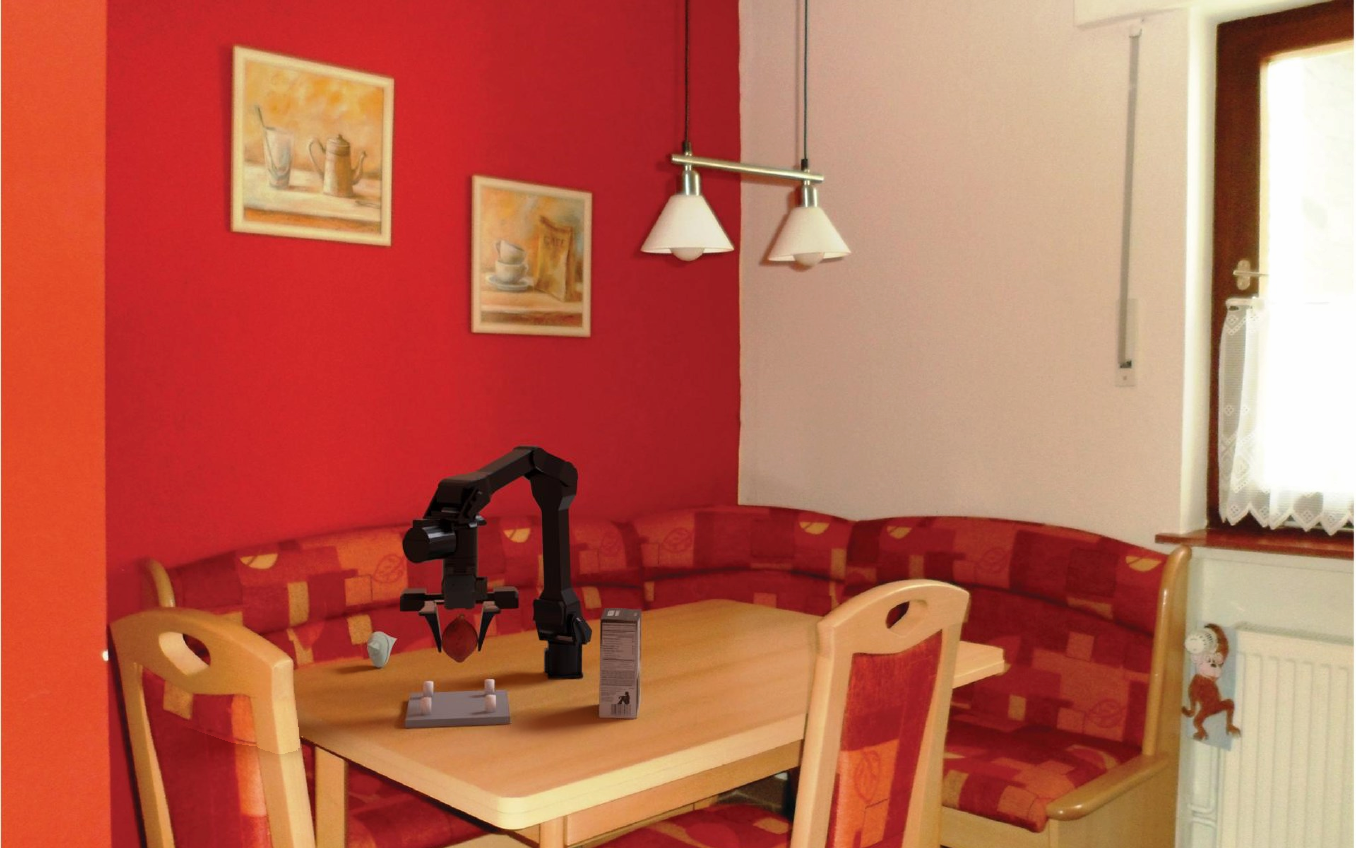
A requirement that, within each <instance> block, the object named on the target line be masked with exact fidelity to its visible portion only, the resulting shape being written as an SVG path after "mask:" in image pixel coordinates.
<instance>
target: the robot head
mask: <svg viewBox="0 0 1356 848" xmlns="http://www.w3.org/2000/svg"><path fill="white" fill-rule="evenodd" d="M396 641H397V638H395V637H392V636H390V635H388V634H386V633H384V632H383V631H375V632H373V633H371V635H370V636H369V637H368V638H367V643H366V650H367V652H368V656H369V659H370V661H371V663H372V664H373V665H374V666H375V667H376V668H380V667H381V668H382V667H384V666H385V665H386V664H387V663H388V661H389V658H390V655H391V652H392V648H393V646H394V643H395V642H396Z"/></svg>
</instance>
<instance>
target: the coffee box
mask: <svg viewBox="0 0 1356 848" xmlns="http://www.w3.org/2000/svg"><path fill="white" fill-rule="evenodd" d="M599 628H600V629H599V630H600V631H599V633H600V634H599V685H598V687H599V689H598V692H599V693H598V694H599V695H598V697H599V698H598V700H599V701H598V718H599V719H600V718H601V719H602V718H603V719H632V720H633V719H635V720H636V719H637V718H638V716H639V711H640V707H641V703H642V702H641V699H642V697H641V695H642V694H641V693H642V692H641V687H642V685H641V684H642V681H641V680H642V679H641V677H642V675H641V674H642V673H641V672H642V668H641V667H642V609H640V608H639V609H636V608H635V609H634V608H633V609H630V608H622V607H606V608H604V609H603V612H602V614H601V617H600V625H599Z"/></svg>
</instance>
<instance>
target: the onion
mask: <svg viewBox="0 0 1356 848" xmlns="http://www.w3.org/2000/svg"><path fill="white" fill-rule="evenodd" d="M465 616H466V615H465V614H464V613H463V612H461V613H459V614H458V615H456V617H455V618H454V619H453V620H452V621H450V622H449V623H448V625H447V626H446V627H445V628H444V630H443V632H442V634H441V643H442V650H443V652H444V653H445V654H446V656H447V657H449V658H450V659H452V660H454V661H455V662H456V663H460V664H461V663H464V662H465V660H466V659H467V658H468V657H469V656H471V655H472V654H473V653H474V652H475V651H476V649H477V648H478V636H479V634H478V632H477V630H476V629H475V627H474V625H473V624H472V623H470V622H469V621H468V620H467V619H465Z"/></svg>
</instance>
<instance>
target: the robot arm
mask: <svg viewBox="0 0 1356 848" xmlns="http://www.w3.org/2000/svg"><path fill="white" fill-rule="evenodd" d="M577 469H578V468H577V467H576V466H575V465H574V464H573V463H572V462H570V461H566V460H565V459H563V458H561V457H558V456H557V455H554V454H551V453H549V452H548V451H546V450H545V449H544V448H543V447H540V446H539V445H528V444H527V445H524V444H520V445H517V446H514V447H513V449H512V450H511V451H509V452H508V453H505V454H504V455H502V456H500V457H498V458H497V459H494V460H493V461H491V462H490V463H488V464H486V465H484V466H483V467H480V468H478V469H477V470H475V471H472V472H468V473H460V474H456V475H452V476H448V477H445V478H443V479H441V480H440V481H439V482H438V483H437V488H436V490H435V492H434V494H433V496H432V498H431V501H430V502H429V504H428V506H427V507H426V511H425V512H424V514H423V517H422V518H413V519H412V527H410V528H409V529H408V530H407V531H406V532H405V534H404V537H403V539H402V546H401V547H402V551H403V554H404V555H405V557H406V559H407V560H408V561H410V563H413V564H416V565H418V564H422V563H429V562H433V561H434V562H435V561H440V560H441V584H440V585H441V588H440V590H441V591H440V592H438V593H434V592H432V593H431V592H430V593H427V587H426V588H425V587H423V588H420V587H418V588H416V587H415V588H414V587H413V588H404V589H403V590H402V591H401V593H400V596H399V612H404V613H405V612H407V613H409V612H417V616H418V617H424V619H426V622H427V623H428V624H427V625H429V627H430V629H431V632H432V635H433V639H434V641H435V645H436V648H437V651H438V653H439V654H441V653H442V650H443V648H442V643H441V640H442V634H441V625H440V617H439V608H438V606H441V605H442V606H443V608H444V609H445V610H448V611H454V610H455V609H457V610H458V609H465V610H473V609H475V607H476V605H481V604H482V608H481V614H480V623H479V629H478V630H479V631H478V644H477V652H481V650H482V647H483V644H484V641H485V638H486V634H487V632H488V628H489V627H490V625H491V623H492V620H493V619H494V618H495V616H496V615H500V614H502V610H516V609H519V608H520V607H519V605H520V603H519V601H520V600H519V599H520V597H519V596H520V595H519V591H518V589H517V588H516V587H515V586H512V585H511V586H509V585H508V586H493V591H488V576H479V527H485V526H487V524H488V522H487V520H486V519H485V518H484V517H482V516H481V515H480V514H479V513H481V511H483V510H484V509H485V508H486V507H487V506H488V505H489V504H490V503H491V500H492V497H493V495H494V494H495V493H497V492H498V491H500V490H501V489H504V488H505V487H507V486H509V484H512V483H513V482H514V481H517V480H518V479H520V478H524V479H525V480H526V481H528V482H529V483H530V491H531V496H532V498H533V499H534V502H536V504H537V506H538V508H539V509H540V513H541V514H540V515H541V516H540V519H541V538H542V539H541V540H542V541H541V546H542V549H541V550H542V571H543V573H542V574H543V578H542V579H543V588H542V590H541V593H540V595H539V596H538V598H533V601H532V609H533V616H532V621H533V622H534V624H535V627H536V628H535V629H536V632H537V636H538V640H539V642H540V641H541V642H546V647H545V648H544V649H543V671H544V674H546V675H547V676H546V677H547V678H548V679H571V678H572V679H576V678H584V672H583V646H585V645H586V646H587V645H588V643H590V642H591V639H592V634H593V629H592V628H591V626H590V625H589V623H588V622H587V621H586V619H585V618H584V616H583V613H582V607H581V605H582V603H581V600H580V598H579V597H578V596H577V594H576V592H575V591H574V589H573V587H572V574H571V573H572V572H571V571H572V570H571V569H572V567H571V546H570V545H571V541H570V538H571V537H570V513H569V511H570V510H569V509H570V507H571V505H572V503H573V502H574V500H575V498H576V496H577V494H578V493H577V492H578V482H579V481H578V480H579V473H578V470H577Z"/></svg>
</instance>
